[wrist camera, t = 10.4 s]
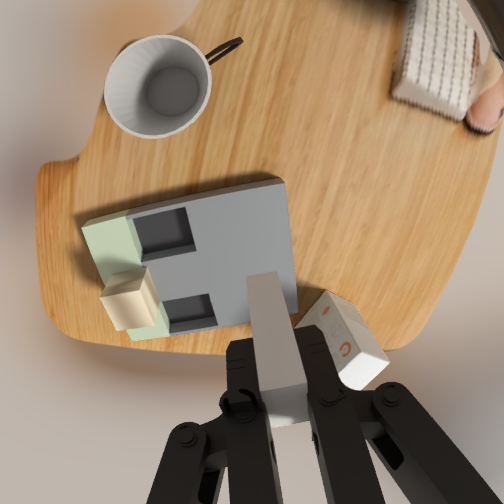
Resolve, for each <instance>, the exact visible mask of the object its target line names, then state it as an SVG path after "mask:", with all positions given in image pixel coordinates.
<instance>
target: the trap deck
mask: <svg viewBox="0 0 504 504" xmlns="http://www.w3.org/2000/svg"><path fill="white" fill-rule="evenodd" d="M82 231H83V234H84V237H85V239H86V242H87V244H88V247H89V250H90V252H91V255H92V257H93V259H94V262H95V264H96V267H97V269H98V271H99V274H100V276H101V278H102V281H103V283H104V285H105V286H106V284H107V282H108V280H109V278H110V276H111V274H115V273H120V272H124V271H129V270H134V269H139V268H144V267H148V270H149V272H150V275H151V278H152V280H153V283H154V286H155V288H156V291H157V293H158V296H159V298H160V303H159V308H158V312H157V317H156V322H155V326H149V327H142V328H135V329H128V330H126V331H127V333H128V334H129V336H130V338H131V340H132V341H138V340H146V339H153V338H160V337H167V336H174V335H181V334H187V333H194V332H200V331H206V330H212V329H218V328H223V327H229V326H234V325H240V324H245V323H250V322H251V318H250V310H249V302H248V294H247V286H246V277H247V276H252V275H257V274H262V273H267V272H272V271H277V275H278V278H279V282H280V285H281V289H282V292H283V296H284V299H285V303H286V306H287V310H288V314H289V315H290V314H294V313H299V311H298V299H297V288H296V277H295V267H294V257H293V248H292V238H291V229H290V220H289V212H288V203H287V195H286V187H285V182H284V181H283V180H282V179H281V178H275V179H269V180H264V181H258V182H252V183H247V184H241V185H236V186H231V187H226V188H221V189H216V190H211V191H206V192H201V193H196V194H192V195H187V196H182V197H178V198H174V199H169V200H165V201H160V202H156V203H152V204H148V205H144V206H140V207H136V208H132V209H128V210H124V211H120V212H116V213H112V214H109V215H105V216H101V217H97V218H94V219H90V220H88V221H87V222H86V223H85V224H84V225H83V226H82Z"/></svg>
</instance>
